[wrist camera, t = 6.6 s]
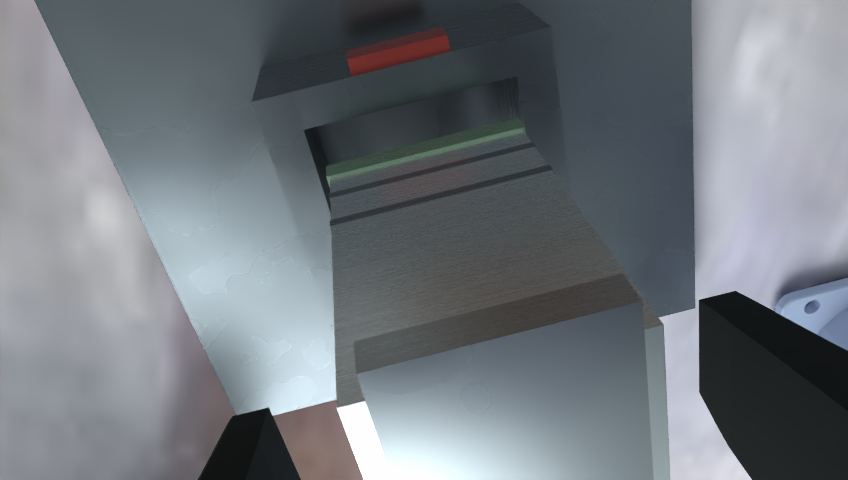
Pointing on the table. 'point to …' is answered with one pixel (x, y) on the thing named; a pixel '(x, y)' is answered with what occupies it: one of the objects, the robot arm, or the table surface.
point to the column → (487, 321)
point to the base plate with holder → (369, 141)
